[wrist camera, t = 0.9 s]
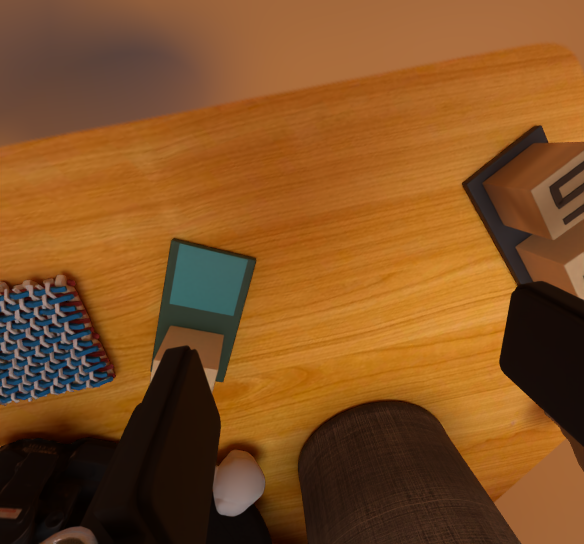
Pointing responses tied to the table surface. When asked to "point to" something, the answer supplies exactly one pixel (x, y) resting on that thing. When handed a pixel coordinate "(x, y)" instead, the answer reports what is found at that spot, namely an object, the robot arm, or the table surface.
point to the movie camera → (80, 493)
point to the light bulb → (573, 445)
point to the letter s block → (541, 189)
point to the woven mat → (47, 342)
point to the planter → (393, 482)
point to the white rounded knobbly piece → (237, 483)
